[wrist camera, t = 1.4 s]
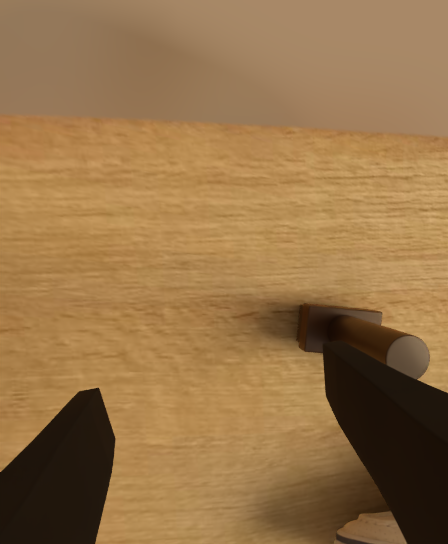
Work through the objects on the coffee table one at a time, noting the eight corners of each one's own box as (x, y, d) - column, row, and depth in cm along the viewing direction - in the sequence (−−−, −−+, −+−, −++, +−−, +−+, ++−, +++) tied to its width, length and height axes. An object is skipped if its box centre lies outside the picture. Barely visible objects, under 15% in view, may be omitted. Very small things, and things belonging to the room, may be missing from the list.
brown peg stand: (364, 307, 26) (461, 331, 17) (360, 349, 26) (453, 394, 17) (297, 301, 25) (360, 321, 16) (292, 343, 25) (353, 387, 16)
